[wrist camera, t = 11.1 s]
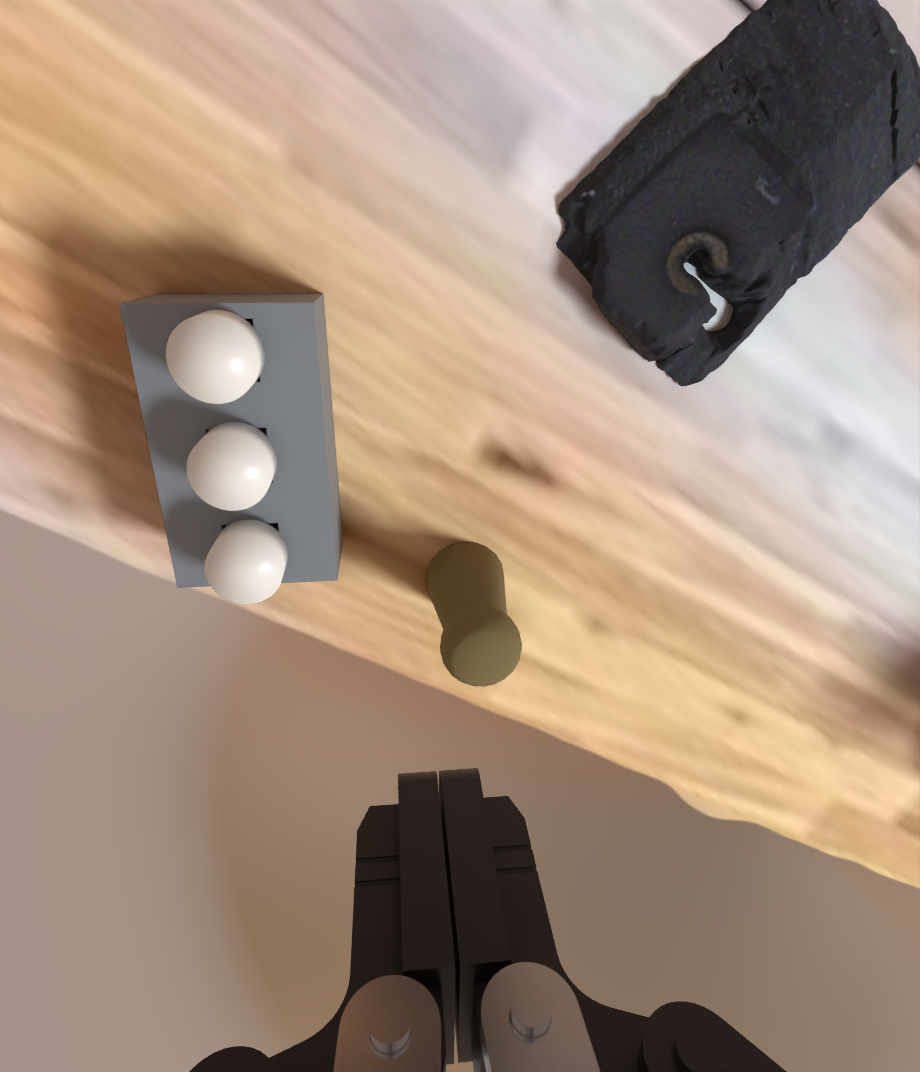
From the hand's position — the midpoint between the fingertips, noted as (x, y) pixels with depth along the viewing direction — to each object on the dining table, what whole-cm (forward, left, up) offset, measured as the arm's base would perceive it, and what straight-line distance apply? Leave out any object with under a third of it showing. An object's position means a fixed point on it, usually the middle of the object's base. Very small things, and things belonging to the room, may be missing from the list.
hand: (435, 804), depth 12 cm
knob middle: (+2, -9, -34) cm, 35 cm away
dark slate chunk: (-12, +22, -35) cm, 43 cm away
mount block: (+2, -10, -35) cm, 36 cm away
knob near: (-4, -10, -34) cm, 36 cm away
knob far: (+8, -9, -34) cm, 36 cm away
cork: (+14, +4, -35) cm, 38 cm away
